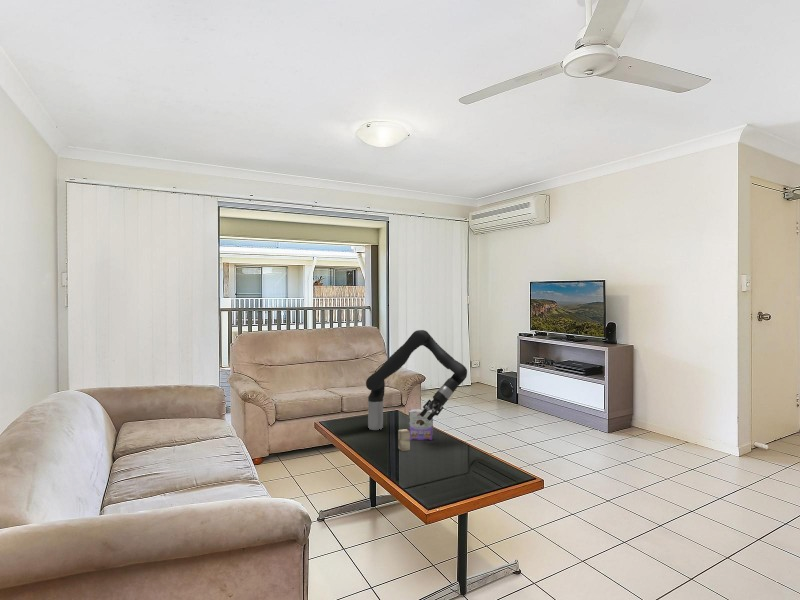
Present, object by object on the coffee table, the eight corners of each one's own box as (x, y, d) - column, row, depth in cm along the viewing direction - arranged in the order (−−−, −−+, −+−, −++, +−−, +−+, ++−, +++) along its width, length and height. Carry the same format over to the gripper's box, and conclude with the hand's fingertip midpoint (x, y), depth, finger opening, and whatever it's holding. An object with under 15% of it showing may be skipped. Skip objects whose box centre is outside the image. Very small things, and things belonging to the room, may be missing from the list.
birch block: (398, 448, 241) (398, 430, 241) (406, 447, 242) (406, 429, 242) (401, 451, 236) (402, 432, 236) (409, 450, 238) (409, 431, 238)
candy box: (432, 437, 260) (432, 409, 260) (432, 440, 254) (432, 411, 254) (409, 436, 262) (409, 408, 262) (408, 439, 256) (408, 411, 256)
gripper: (432, 388, 254) (414, 410, 250) (445, 393, 241) (426, 416, 237) (440, 396, 257) (422, 419, 252) (453, 402, 244) (435, 425, 239)
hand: (424, 417), depth 244 cm, fingers open, 8 cm apart
